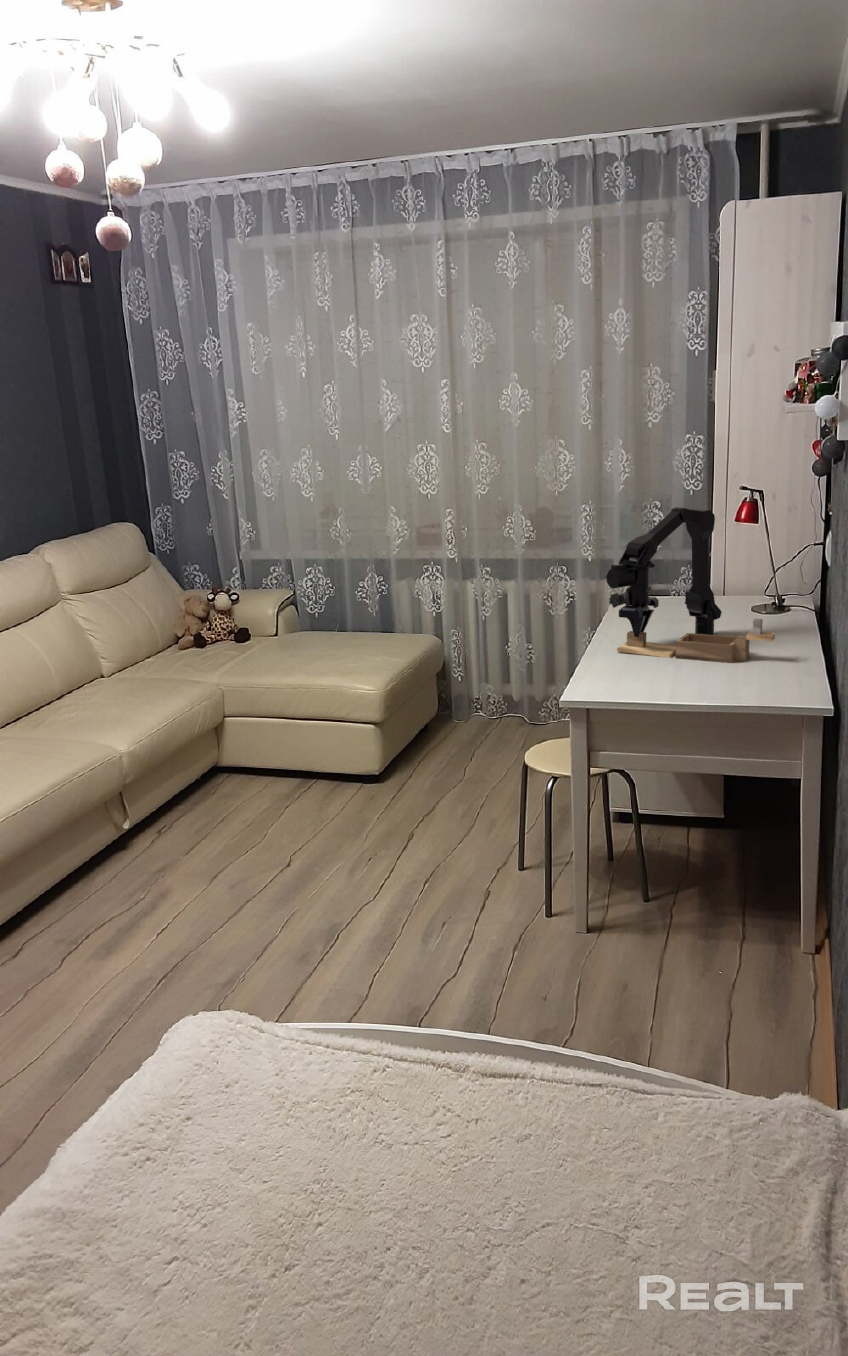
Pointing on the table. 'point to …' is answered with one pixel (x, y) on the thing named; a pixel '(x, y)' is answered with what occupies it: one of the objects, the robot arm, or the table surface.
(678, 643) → the toolbox
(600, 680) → the table surface
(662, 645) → the lid
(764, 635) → the block
